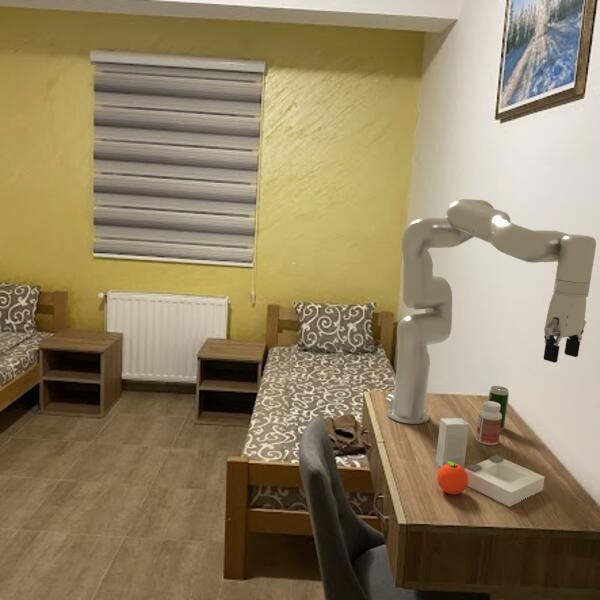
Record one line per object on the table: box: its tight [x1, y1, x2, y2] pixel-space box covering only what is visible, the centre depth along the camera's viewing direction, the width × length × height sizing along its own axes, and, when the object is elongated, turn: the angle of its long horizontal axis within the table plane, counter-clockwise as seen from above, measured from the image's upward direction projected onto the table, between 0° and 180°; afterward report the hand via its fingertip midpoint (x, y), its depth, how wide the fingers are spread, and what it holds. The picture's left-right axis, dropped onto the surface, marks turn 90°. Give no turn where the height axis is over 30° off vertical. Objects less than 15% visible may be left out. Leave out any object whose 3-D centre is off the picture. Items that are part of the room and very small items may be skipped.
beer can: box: [487, 385, 510, 431], centre depth 185 cm, size 5×5×12 cm
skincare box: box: [435, 417, 470, 469], centre depth 158 cm, size 6×4×12 cm
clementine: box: [436, 461, 468, 495], centre depth 145 cm, size 8×7×7 cm
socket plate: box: [464, 454, 546, 507], centre depth 149 cm, size 13×14×4 cm
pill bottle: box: [475, 400, 502, 446], centre depth 175 cm, size 6×6×11 cm
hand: (560, 358), depth 150 cm, fingers open, 9 cm apart
